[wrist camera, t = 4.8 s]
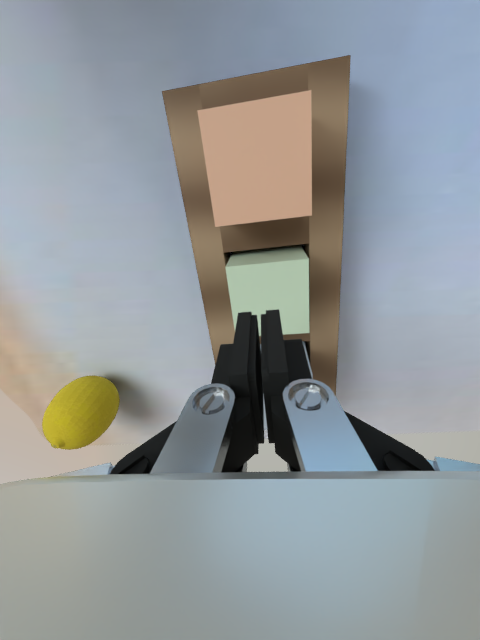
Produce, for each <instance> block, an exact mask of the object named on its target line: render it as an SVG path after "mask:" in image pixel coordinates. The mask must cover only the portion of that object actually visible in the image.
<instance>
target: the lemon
mask: <svg viewBox="0 0 480 640" xmlns="http://www.w3.org/2000/svg"><path fill="white" fill-rule="evenodd" d="M118 407H119V394H118V391H117V389H116V387H115V386H114V384H113V383H112V382H110V381H109V380H107V379H106V378H103V377H100V376H85V377H81V378H78V379H76V380H74V381H72V382H71V383H69V384H68V385H66V386H65V387H64V388H62V389H61V390H60V391H59V392H58V393H57V394H56V396H55V397H54V398H53V400H52V401H51V403H50V404H49V406H48V407H47V409H46V411H45V414H44V417H43V422H42V427H43V432H44V435H45V437H46V439H47V440H48V441H49V442H50V443H51V446H52V447H54V448H61V449H69V450H70V449H78V448H81V447H84V446H87V445H89V444H90V443H92V442H93V441H95V440H96V439H97V438H98V437H100V436H101V435H102V434H103V433H104V432H105V431H106V430H107V428H108V427H109V426H110V424H111V423H112V421H113V420H114V418H115V416H116V414H117V411H118Z"/></svg>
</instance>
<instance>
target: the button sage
mask: <svg viewBox="0 0 480 640" xmlns="http://www.w3.org/2000/svg"><path fill="white" fill-rule="evenodd" d="M225 268H226V275H227V282H228V288H229V295H230V302H231V309H232V316H233V322H234V329H236V323H237V316H238V313H241V312H252V315H257V320H258V330H259V336H261V314H266V310H277V309H279V312H280V319H281V326H282V333H283V335H285V334H301V333H309V258H308V257H307V255H306V253H305V252H304V250H303V249H302V247H301V246H300V244H299V245H290V246H281V247H271V248H262V249H253V250H243V251H234V252H233V253H232V255H231V257H230V259H229V261H228V263H227V265H226V267H225Z"/></svg>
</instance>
